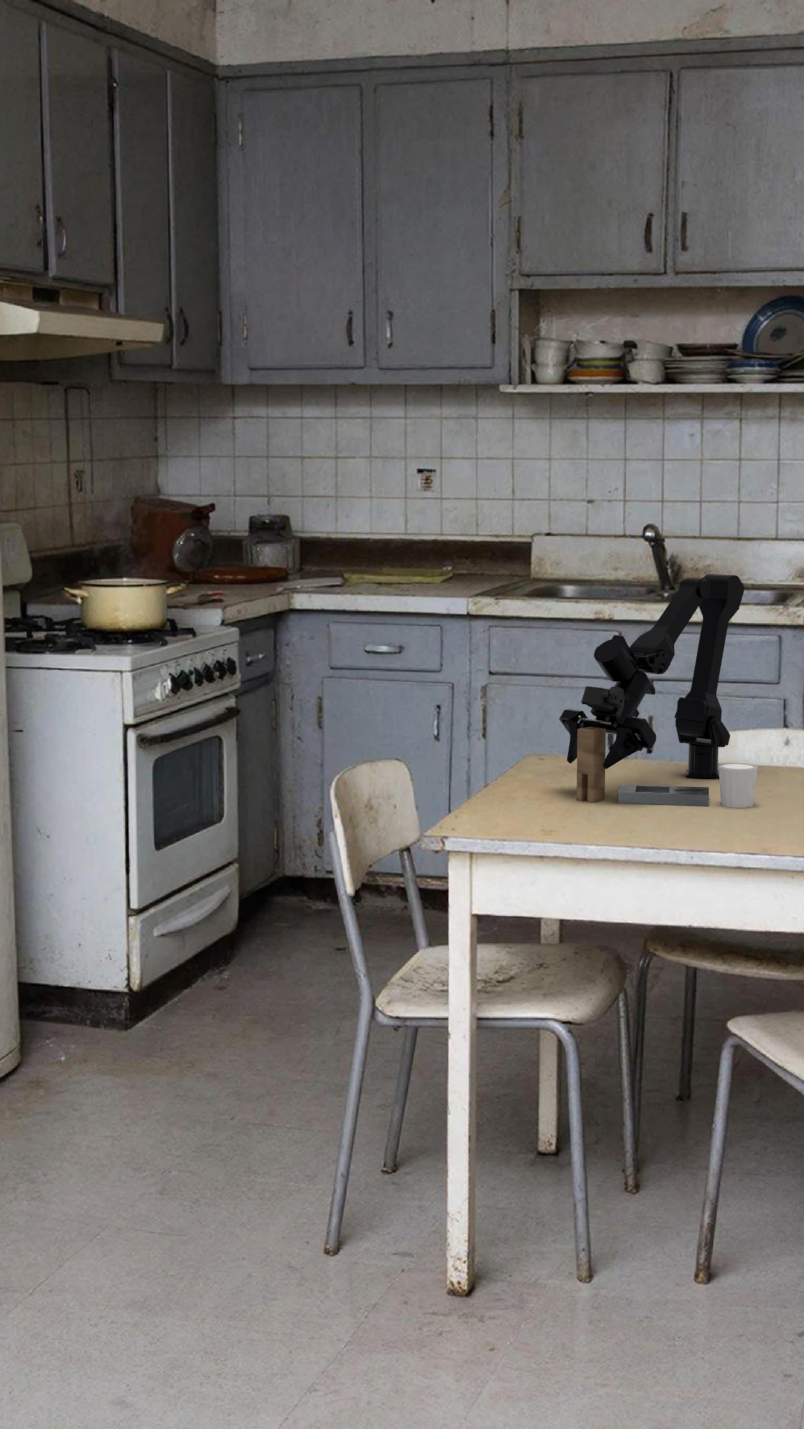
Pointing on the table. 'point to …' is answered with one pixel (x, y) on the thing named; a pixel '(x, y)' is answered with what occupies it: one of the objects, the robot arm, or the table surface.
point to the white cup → (737, 784)
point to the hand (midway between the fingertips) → (586, 764)
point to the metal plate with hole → (663, 795)
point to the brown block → (591, 764)
